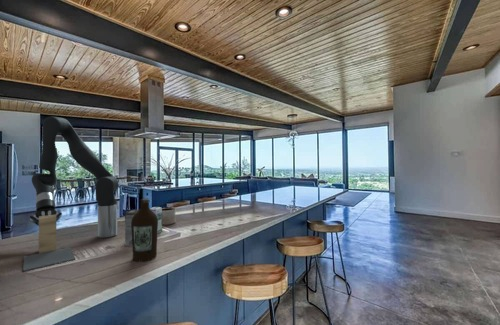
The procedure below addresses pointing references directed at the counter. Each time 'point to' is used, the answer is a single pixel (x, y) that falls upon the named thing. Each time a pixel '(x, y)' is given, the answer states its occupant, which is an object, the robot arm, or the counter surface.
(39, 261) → the rubber mat
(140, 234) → the olive oil
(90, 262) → the counter surface
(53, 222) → the oak block
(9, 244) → the counter surface
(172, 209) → the planter
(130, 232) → the coffee box
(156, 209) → the syrup box
